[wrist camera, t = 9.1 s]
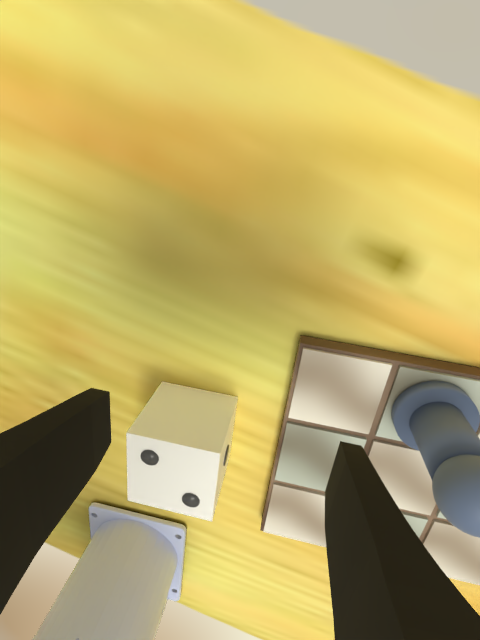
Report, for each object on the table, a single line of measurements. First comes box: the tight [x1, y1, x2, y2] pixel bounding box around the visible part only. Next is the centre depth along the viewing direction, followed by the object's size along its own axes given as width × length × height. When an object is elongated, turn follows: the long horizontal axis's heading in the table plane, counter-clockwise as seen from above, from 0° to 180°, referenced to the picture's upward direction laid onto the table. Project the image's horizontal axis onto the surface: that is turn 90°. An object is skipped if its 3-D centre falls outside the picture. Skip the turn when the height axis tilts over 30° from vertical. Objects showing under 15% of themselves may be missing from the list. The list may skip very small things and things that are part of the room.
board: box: [261, 335, 480, 585], centre depth 21 cm, size 15×15×1 cm
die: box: [126, 382, 238, 521], centre depth 21 cm, size 5×5×5 cm
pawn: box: [391, 381, 480, 538], centre depth 16 cm, size 4×4×7 cm
